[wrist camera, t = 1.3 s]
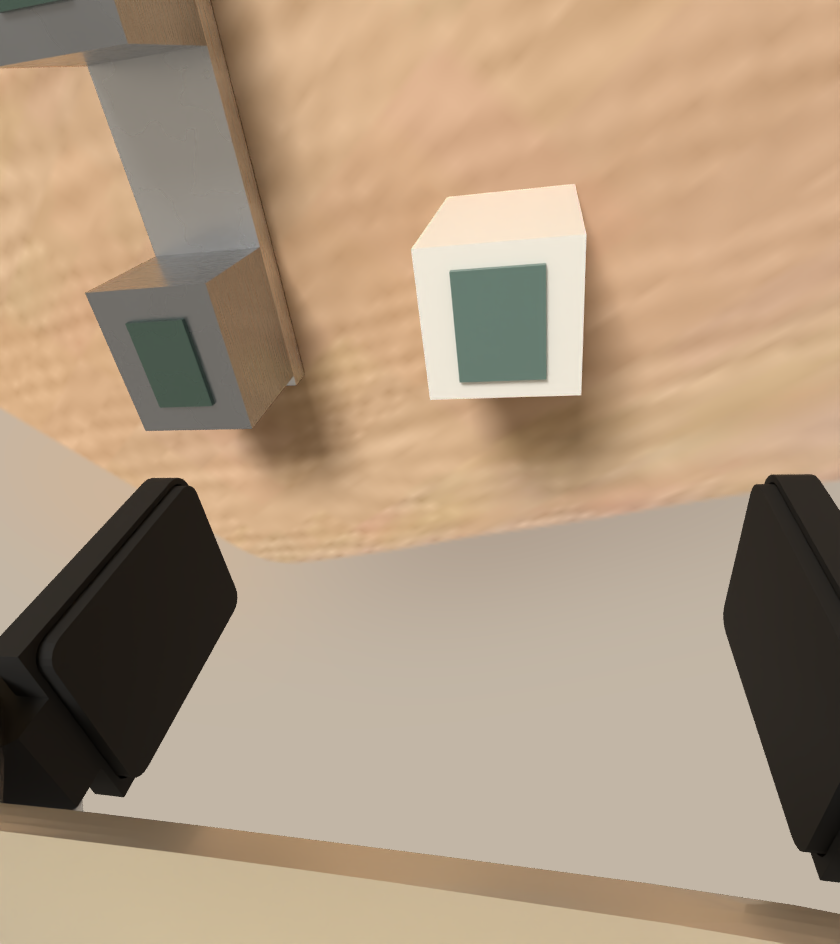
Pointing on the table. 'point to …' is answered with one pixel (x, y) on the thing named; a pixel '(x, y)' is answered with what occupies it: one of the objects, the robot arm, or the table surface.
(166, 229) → the rail
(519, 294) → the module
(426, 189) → the table surface
